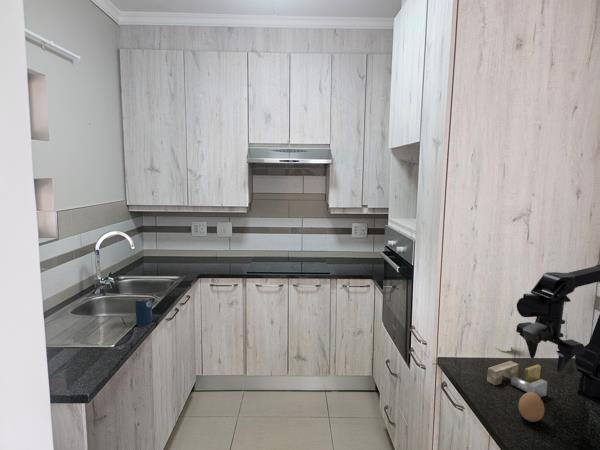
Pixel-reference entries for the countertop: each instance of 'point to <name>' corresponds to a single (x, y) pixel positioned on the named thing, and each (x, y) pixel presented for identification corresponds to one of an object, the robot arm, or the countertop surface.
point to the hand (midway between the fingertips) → (545, 364)
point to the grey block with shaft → (531, 386)
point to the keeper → (532, 373)
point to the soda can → (143, 311)
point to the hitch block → (506, 368)
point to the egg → (531, 407)
